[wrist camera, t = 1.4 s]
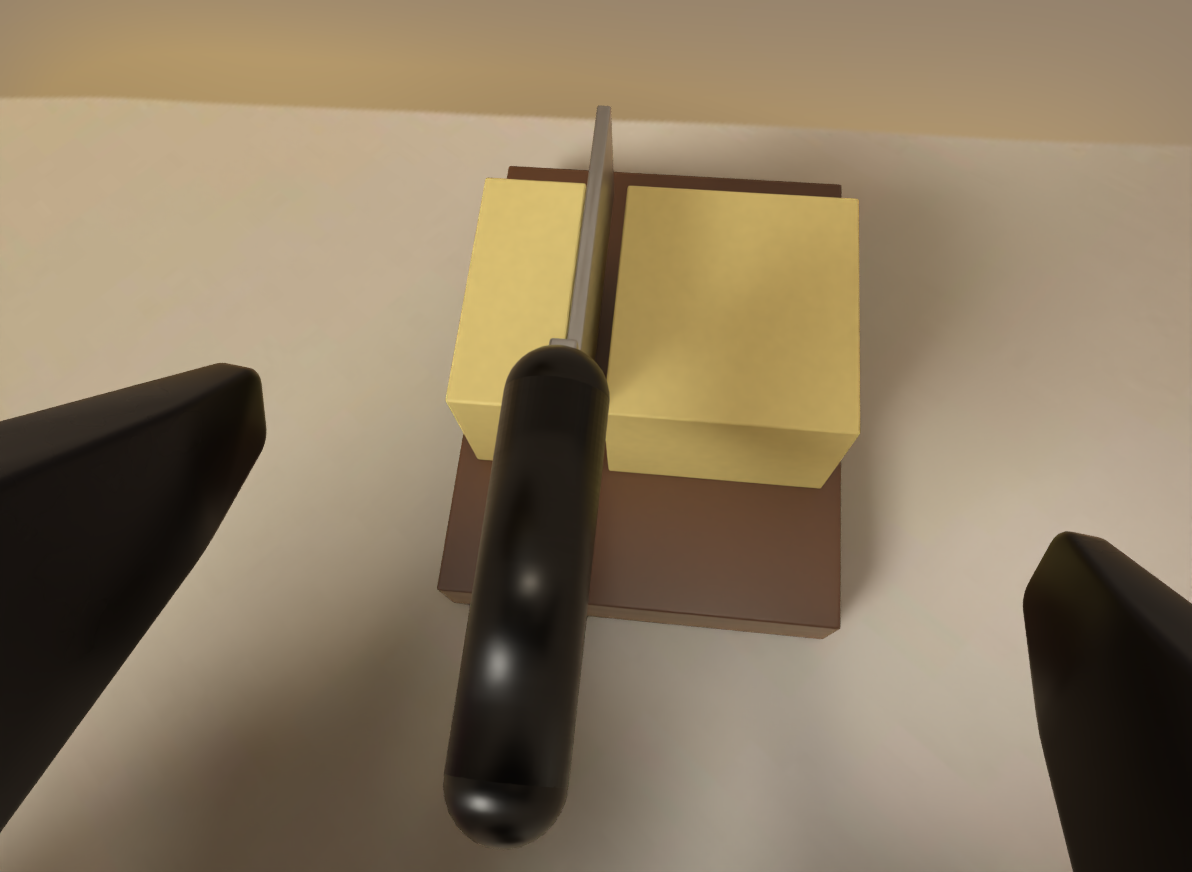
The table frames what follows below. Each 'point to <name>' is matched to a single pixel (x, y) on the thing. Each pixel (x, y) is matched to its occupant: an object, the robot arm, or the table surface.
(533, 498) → the knife
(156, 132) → the table surface
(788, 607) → the board
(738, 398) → the butter
